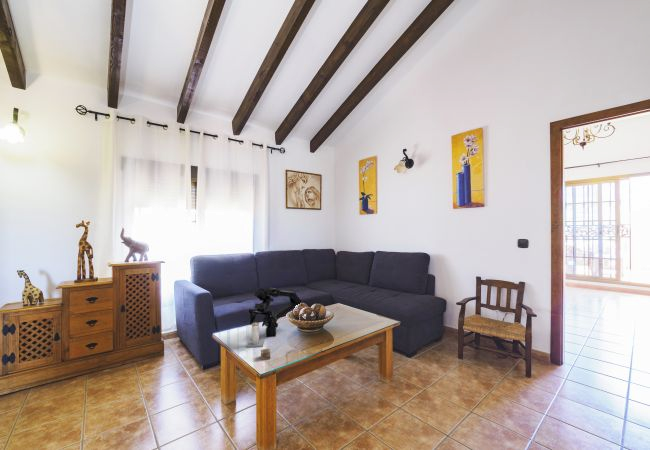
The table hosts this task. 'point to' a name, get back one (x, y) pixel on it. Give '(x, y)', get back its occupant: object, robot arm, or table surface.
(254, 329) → the jar
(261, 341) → the slate tile
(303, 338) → the table surface
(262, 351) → the walnut block
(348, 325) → the table surface
